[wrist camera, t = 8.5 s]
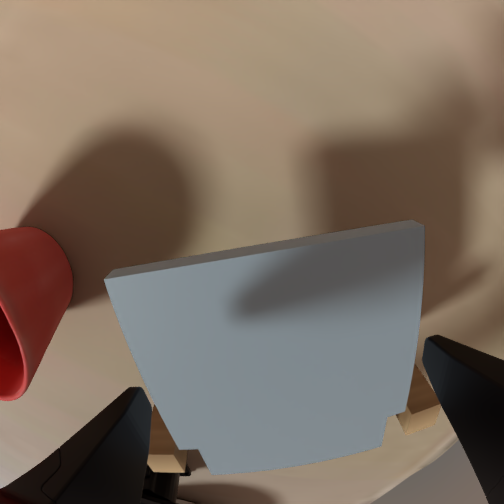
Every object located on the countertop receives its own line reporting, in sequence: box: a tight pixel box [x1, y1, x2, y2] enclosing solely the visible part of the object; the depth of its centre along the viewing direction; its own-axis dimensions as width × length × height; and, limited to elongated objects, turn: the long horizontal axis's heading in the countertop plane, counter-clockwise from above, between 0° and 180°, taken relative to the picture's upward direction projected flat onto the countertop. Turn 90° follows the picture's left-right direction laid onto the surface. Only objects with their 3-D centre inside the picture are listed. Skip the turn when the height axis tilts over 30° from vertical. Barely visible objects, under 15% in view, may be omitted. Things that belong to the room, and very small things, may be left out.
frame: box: [147, 363, 441, 473], centre depth 19 cm, size 2×17×10 cm, turn 99°
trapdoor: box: [104, 220, 425, 475], centre depth 14 cm, size 13×12×3 cm
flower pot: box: [0, 227, 73, 401], centre depth 17 cm, size 11×11×10 cm
